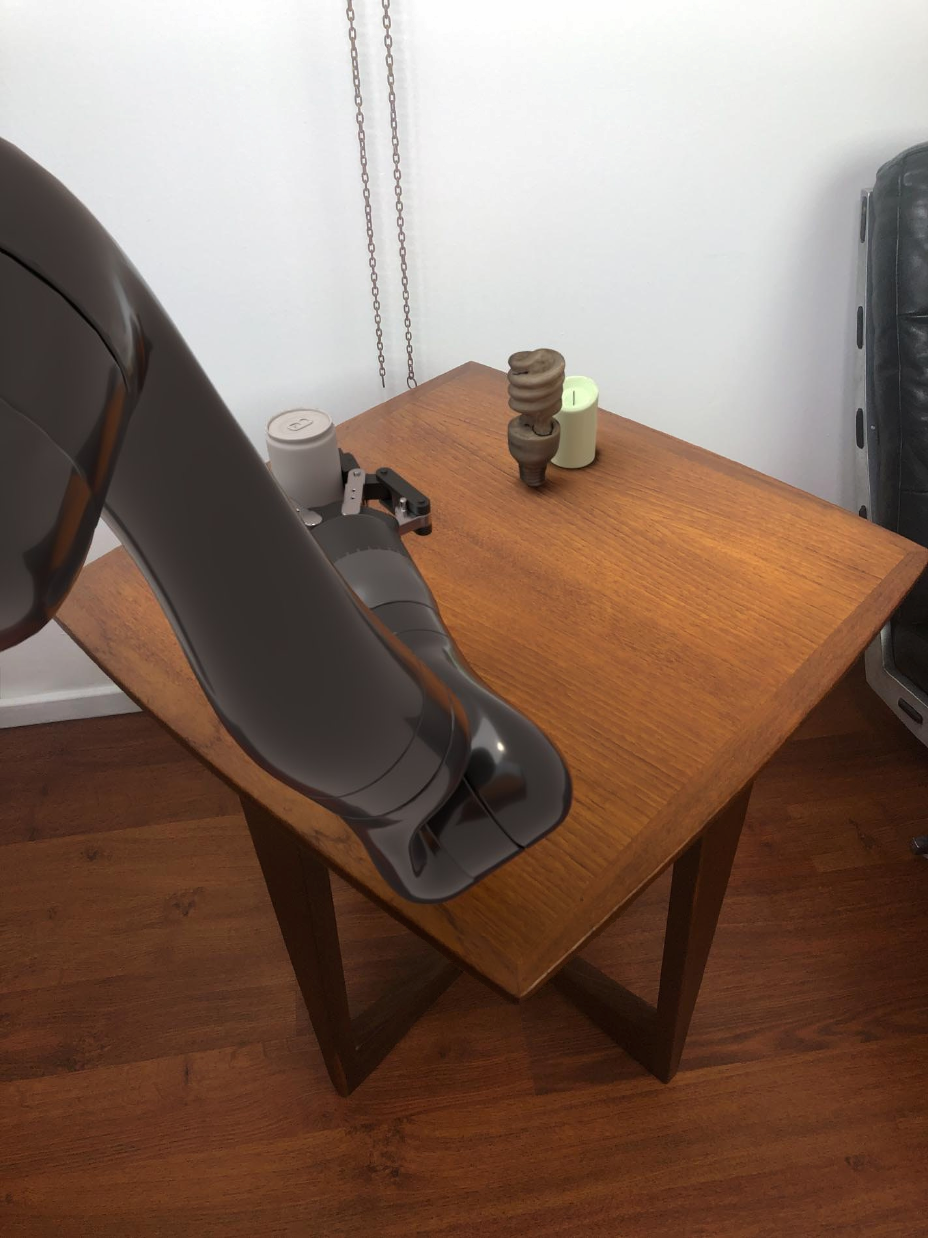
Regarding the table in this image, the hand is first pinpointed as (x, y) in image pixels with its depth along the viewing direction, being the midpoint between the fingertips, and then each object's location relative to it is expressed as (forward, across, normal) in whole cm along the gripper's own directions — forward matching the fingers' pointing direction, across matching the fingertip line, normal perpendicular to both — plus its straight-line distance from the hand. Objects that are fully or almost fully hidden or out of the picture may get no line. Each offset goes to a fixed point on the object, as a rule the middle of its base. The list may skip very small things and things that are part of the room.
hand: (300, 467), depth 71 cm
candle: (+19, -32, +18) cm, 41 cm away
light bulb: (+15, -26, +18) cm, 35 cm away
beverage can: (-3, 0, +7) cm, 8 cm away
